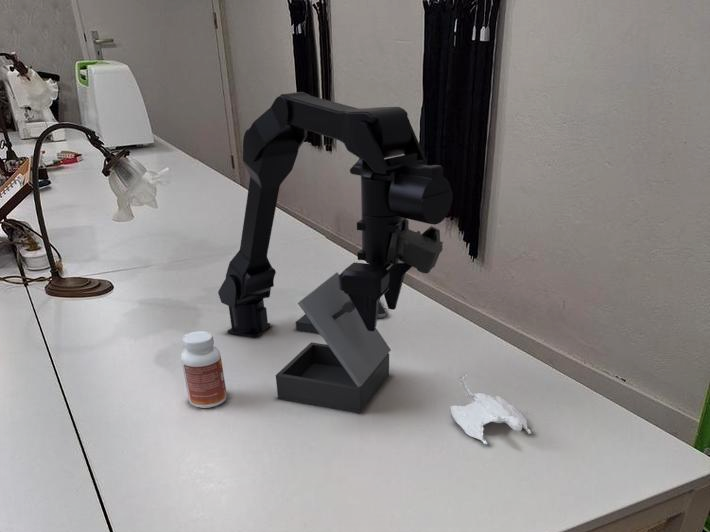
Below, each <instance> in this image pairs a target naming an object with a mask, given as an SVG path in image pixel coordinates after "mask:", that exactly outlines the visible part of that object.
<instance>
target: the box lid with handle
mask: <svg viewBox="0 0 710 532" xmlns="http://www.w3.org/2000/svg"><path fill="white" fill-rule="evenodd" d="M339 275H340V273H338V272H335V273H334V274H332V275H331V276H330V277H328V278H327V279H326V280H325V281H324V282H322V283H321V284H320V285H319V286H317V287H316V288H315V289H313V290H312V291H311V292H309V293H308V294H307V295H306V296H305V297H304V298H302V299H301V300H300V301H298V302H297V304H298V306H299V308H300V309H301V310H302V311H303V313H304V315H305V314H306V315H307V317H308V318H309V320H310V321H311V322H312V324H313V325H314V327H315V328H316V329H317V331H318V332H319V333H318V334H319V335H320V336H321V338H322V339H323V341H324V342H325V343H326V345H328V346H329V347H330V349H331V350H332V352H333V353H334V354H335V356H336V357H337V359H338V360H339V361H340V363H341V364H342V366H343V367H344V368H345V370H346V371H347V372H348V374H349V375H350V377H351V378H352V379H353V381H354V382H355V384H356V385H357V386H358V387H360V386H362V385H363V383H364V382H365V381H366V380H367V378H368V377H369V376H370V375H371V374H372V372H373V371H374V370H375V369H376V368H377V366H378V365H379V364H380V363H381V362H382V360H383V359H384V358H385V357H386V355H387V354H390V352H391V351H392V349H391V348H390V346H389V345H388V344H387V342H386V341H385V339H384V338H383V336H382V335H381V333H380V332H379V330H378V329H377V327H376V328H375V331H368V330H367V328H366V326H365V324H364V322H363V321H362V319H361V317H360V315H359V313H358V311H357V309H356V307H355V305H354V304H353V302H352V301H351V299H350V297H349V296H348V294H345V293H344V291H341V290H340V289H339Z"/></svg>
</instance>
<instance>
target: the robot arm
mask: <svg viewBox="0 0 710 532" xmlns="http://www.w3.org/2000/svg"><path fill="white" fill-rule="evenodd" d="M408 115H409V114H408V111H406V110H405V109H404V108H402V107H400V106H379V107H365V108H358V107H354V106H350V105H347V104H343V103H339V102H336V101H332V100H329V99H325V98H320V97H317V96H314V95H310V94H309V93H306V92H304V91H298V92H289V93H288V92H287V93H281V94H280V95H279V96H277V97H276V98H275V99H274V100H273V102H272V104H271V106H270V107H269V108H268V109H267V110H266V111H264V113H262V114H261V115H260V116H258V117H257V118H256V119H255V120H254V121H253V122H252V124H251V126H250V127H249V128H247V129H246V130H245V131H244V135H243V139H242V140H243V141H242V162H243V165H244V167H245V169H246V171H247V173H248V175H249V183H248V190H247V197H246V205H245V209H244V210H245V211H244V217H243V225H242V231H241V238H240V246H239V250H238V251H237V253H235V255H234V256H233V258H232V259H231V260H230V261H229V263H228V267H227V270H226V273H225V279H224V281H223V282H222V284H221V286H220V287H219V290H218V292H217V293H218V294H217V295H218V296H219V300H220V303H221V304H223V305H226V306H228V311H229V318H230V326H231V327H230V328H229V329H228V330H227V334H228V335H235V336H243V337H249V338H257V337H258V336H260V335H261V334H262V333H263V332H265V331H266V330H267V329H269V328H270V327H271V323H270V322H269V321H268V313H267V307H266V306H265V302H264V301H265V300H264V299H266V298H267V299H268V298H270V297H271V291H272V290H271V289H272V287H274V286H275V285H274V280H275V276H276V274H277V271H276V269H275V268H274V267H273V266H272V264H271V262H270V260H269V258H268V253H269V248H270V242H271V235H272V230H273V225H274V220H275V216H276V215H275V213H276V208H277V204H278V197H279V193H280V188H281V184H282V183H283V182H284V181H285V180H286V178H287V177H288V176H289V175H290V173H291V172H292V171H293V170H294V169H293V168H294V165H295V163H296V160H297V157H298V154H299V149H300V148H301V147H302V145H303V143H304V142H305V141H306V139H307V137H308V132H311V133H315V134H317V135H320V136H323V137H327V138H330V139H334V140H337V141H339V142H341V143H342V144H344V147H345V149H346V150H347V152H349V153H350V154H352V155H354V156H356V158H358V160H357V161H356V163H354V164H353V165H352V166H351V168H350V169H349V173H350V174H351V175H354V176H360V199H361V200H360V201H361V205H360V206H361V219H360V220H358V221H357V222H356V231H361V249H360V250H359V251H357V260H358V261H365V262H364V263H363V262H352V263H351V264H350V265H348V266H347V267H345V268H344V269H343V271H342V272H341V273H339V289H340V290H341V291H344V293H345V294H348V296H349V297H350V299H351V301H352V302H353V304H354V305H355V307H356V309H357V311H358V313H359V315H360V317H361V319H362V321H363V322H364V324H365V326H366V328H367V330H368V331H375V328H376V329H377V322H378V318H377V316H378V309H379V301H380V302H381V298H382V297H383V296H384V300H385V303H386V306H387V308H388V310H393V311H394V310H396V309H397V305H398V302H399V297H400V293H401V291H402V286H403V284H404V283H403V282H404V279H405V276H406V274H407V273H408V271H409V270H410V269H412V268H415V269H416V270H417V271H418V272H419V273H422V274H429V273H430V272H431V271H432V269H433V268H435V267H436V264H437V262H438V260H439V256H440V255H441V253H442V252H443V249H444V248H443V247H444V246H443V244H444V242H443V241H441V230H440V229H438V228H436V227H435V225H439V224H440V223H442V222H443V221H444V220H445V219H446V218H447V216H448V215H449V213H450V210H451V207H452V205H453V204H452V203H453V199H454V198H453V197H454V196H453V191H452V188H451V184H450V182H449V180H448V179H447V178H446V177H444V175H443V174H444V167H443V166H442V165H440V164H439V165H438V164H431V165H429V164H427V163H428V160H427V158H426V156H425V154H424V150H423V149H422V146H421V145H420V142H419V140H418V137H417V135H416V133H415V130H414V128H413V127H412V123H411V121H410V118H409V117H408ZM409 220H410V221H415V222H418V223H419V222H420V223H424V224H428V225H431V226H429V227H428V228H427V229H426V230H424V232H422V233H421V231H419V230H417V231H415V230H412V229H410V228H409V227H410V226H409V225H410V224H409V223H410V222H409ZM432 225H434V226H432Z"/></svg>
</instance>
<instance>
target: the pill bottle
mask: <svg viewBox="0 0 710 532" xmlns="http://www.w3.org/2000/svg"><path fill="white" fill-rule="evenodd" d="M182 347H183V348H184V349H183V351H182V352H181V354H180V360H181V365H182V370H183V376H184V382H185V387H186V392H187V396H188V400H189V403H190V404H191V405H192V406H194V407H196V408H202V409H207V408H208V409H209V408H214V407H217V406H220V405H221V404H223V403H224V402H225V401H226V400H227V397H228V394H227V393H228V392H227V388H226V387H227V386H226V380H225V374H224V368H223V361H222V355H221V352H220V349H219V348H218V347H217V346H215V340H214V335H213V334H212V333H211V332H209V331H206V330H205V331H204V330H203V331H202V330H200V331H199V330H198V331H193V332H189V333H186V334H185V335H183V336H182Z"/></svg>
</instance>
